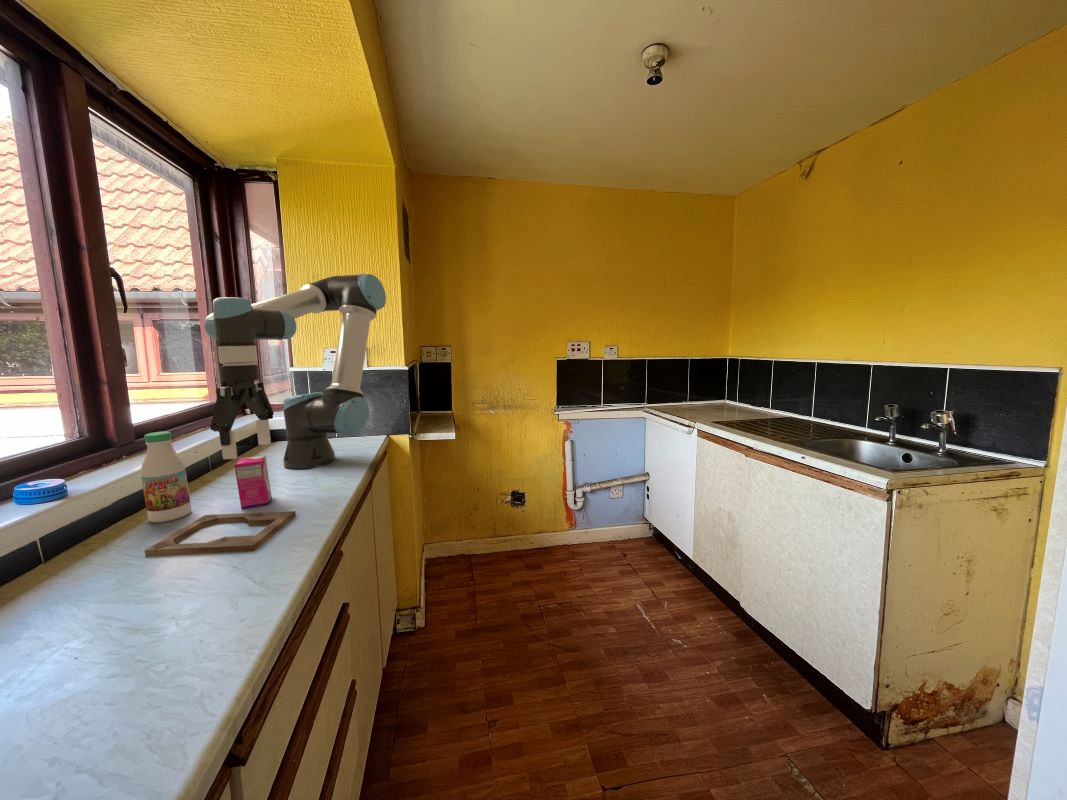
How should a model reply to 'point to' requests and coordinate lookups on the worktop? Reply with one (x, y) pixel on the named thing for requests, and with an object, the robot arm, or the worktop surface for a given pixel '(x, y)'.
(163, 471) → the milk bottle
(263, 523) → the keyhole plate
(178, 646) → the worktop surface
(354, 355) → the robot arm
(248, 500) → the supplement box
